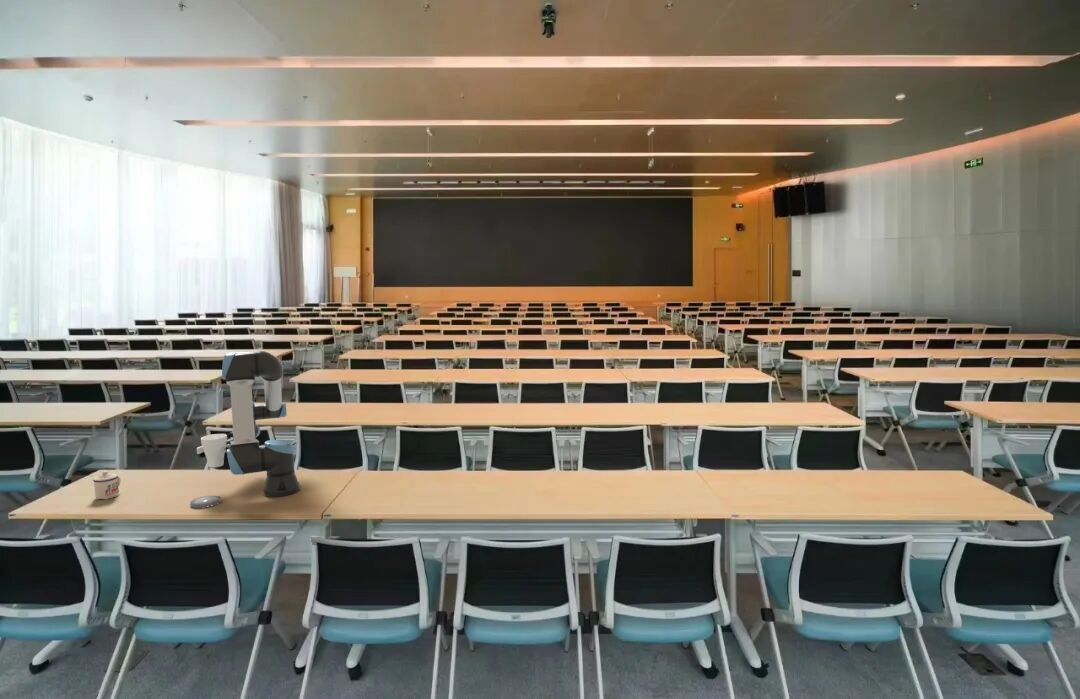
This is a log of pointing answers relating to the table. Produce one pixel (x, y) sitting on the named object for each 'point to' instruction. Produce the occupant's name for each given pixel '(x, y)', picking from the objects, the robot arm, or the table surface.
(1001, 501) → the table surface
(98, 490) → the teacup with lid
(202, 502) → the plate
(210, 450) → the cup
